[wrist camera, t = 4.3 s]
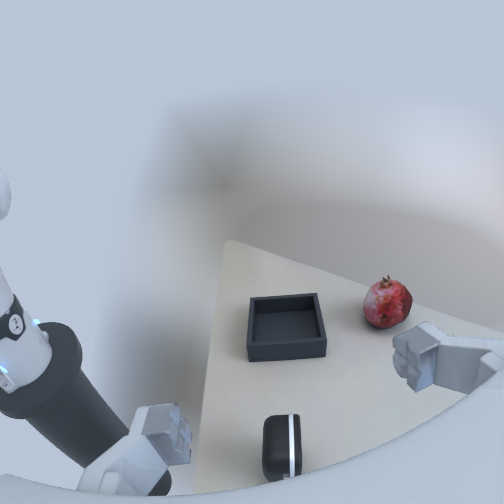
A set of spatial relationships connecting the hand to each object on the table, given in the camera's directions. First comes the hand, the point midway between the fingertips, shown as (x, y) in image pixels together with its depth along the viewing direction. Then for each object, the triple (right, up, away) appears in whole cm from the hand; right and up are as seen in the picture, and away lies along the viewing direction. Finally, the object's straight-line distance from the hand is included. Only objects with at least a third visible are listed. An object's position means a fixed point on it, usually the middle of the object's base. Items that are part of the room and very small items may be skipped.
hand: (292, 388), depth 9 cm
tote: (+5, -10, +42) cm, 43 cm away
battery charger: (+2, -22, +19) cm, 29 cm away
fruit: (+24, -8, +41) cm, 48 cm away
